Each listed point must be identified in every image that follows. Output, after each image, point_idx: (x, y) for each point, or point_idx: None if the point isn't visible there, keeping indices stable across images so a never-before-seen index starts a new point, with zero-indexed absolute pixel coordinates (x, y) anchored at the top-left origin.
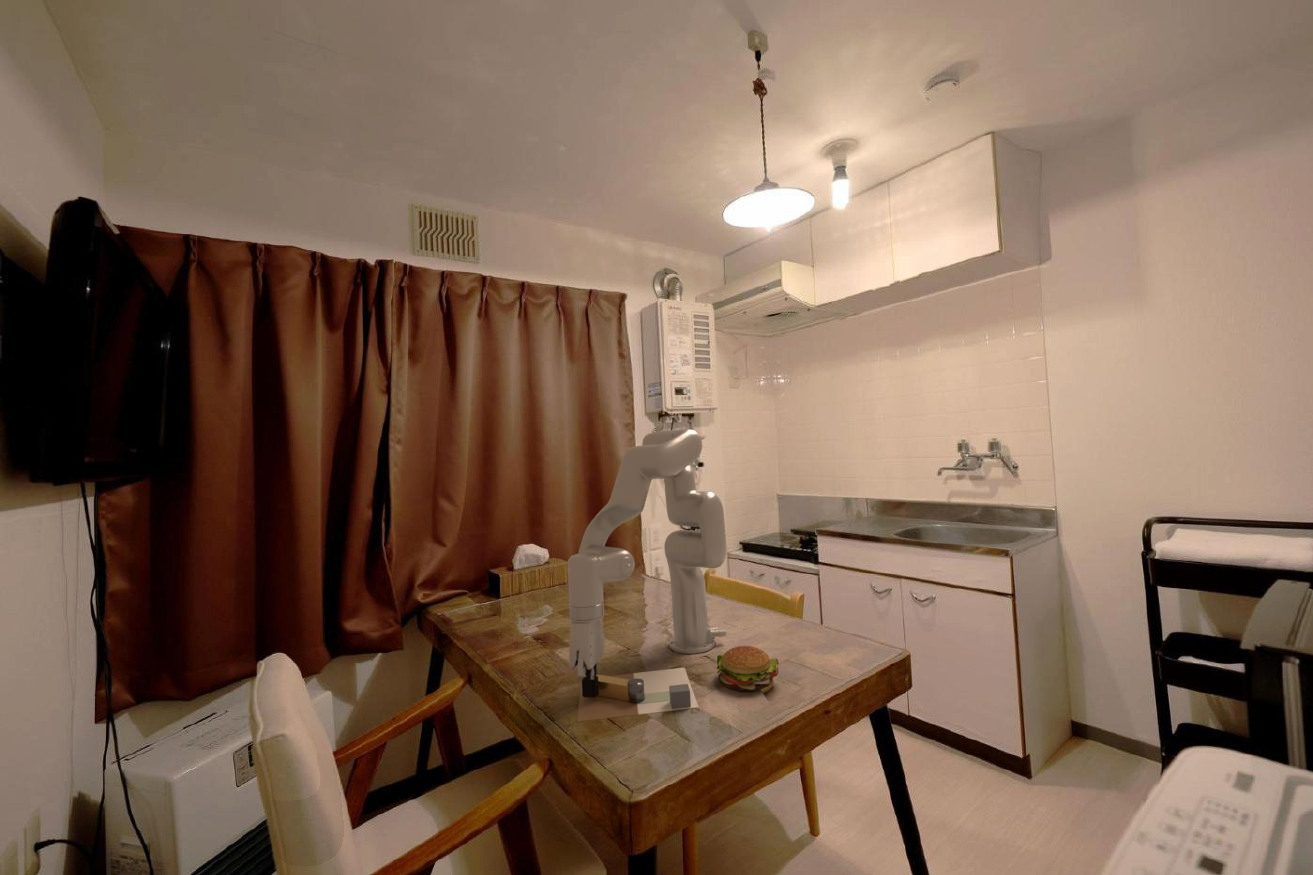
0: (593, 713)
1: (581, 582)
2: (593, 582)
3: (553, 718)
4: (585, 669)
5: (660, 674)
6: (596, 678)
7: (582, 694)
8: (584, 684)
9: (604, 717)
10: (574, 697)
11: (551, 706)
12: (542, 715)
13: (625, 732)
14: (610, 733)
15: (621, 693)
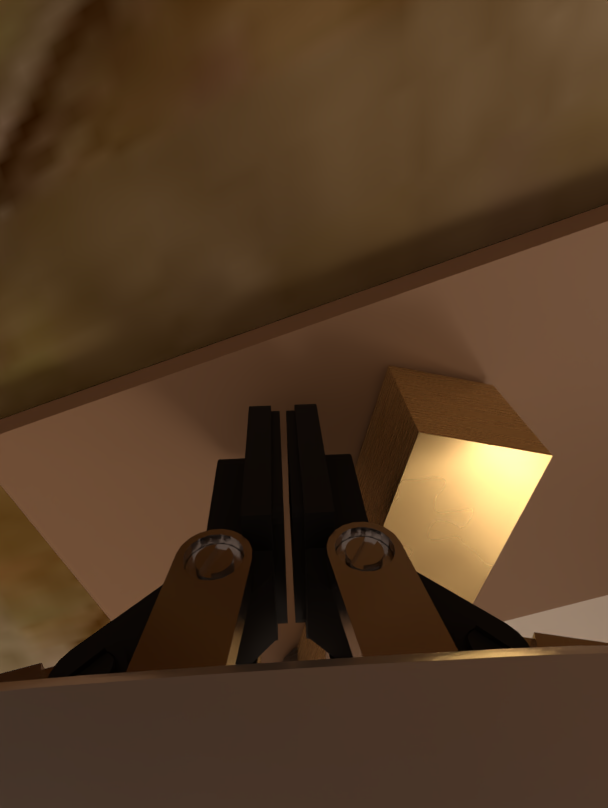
0: (113, 509)
1: None
2: None
3: (32, 171)
4: (338, 593)
5: None
6: (303, 619)
7: (248, 412)
8: (208, 519)
9: (93, 579)
10: (416, 213)
11: (225, 28)
12: (36, 8)
13: (62, 653)
14: (24, 602)
15: (311, 650)
